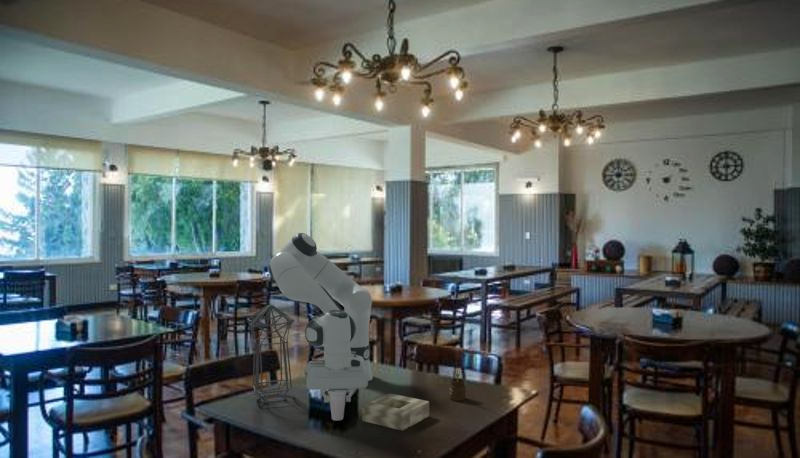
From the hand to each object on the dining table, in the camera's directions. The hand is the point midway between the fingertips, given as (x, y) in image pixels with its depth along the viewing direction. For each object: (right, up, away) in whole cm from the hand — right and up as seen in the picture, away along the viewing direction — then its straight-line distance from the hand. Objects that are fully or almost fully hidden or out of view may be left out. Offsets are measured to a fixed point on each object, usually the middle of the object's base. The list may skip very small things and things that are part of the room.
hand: (337, 401), depth 185 cm
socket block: (+19, -6, 0) cm, 20 cm away
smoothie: (0, -6, 0) cm, 6 cm away
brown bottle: (+42, -6, +21) cm, 47 cm away
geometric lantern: (-27, -6, +21) cm, 35 cm away
